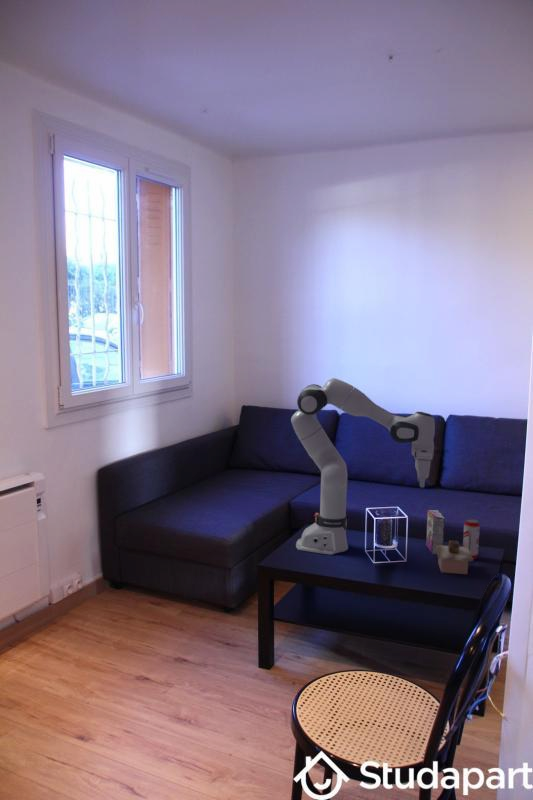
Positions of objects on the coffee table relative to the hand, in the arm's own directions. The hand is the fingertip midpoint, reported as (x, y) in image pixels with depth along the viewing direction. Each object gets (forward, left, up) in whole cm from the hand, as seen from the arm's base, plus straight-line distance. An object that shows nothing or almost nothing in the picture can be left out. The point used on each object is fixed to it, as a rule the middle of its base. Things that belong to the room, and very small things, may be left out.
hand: (420, 484), depth 261 cm
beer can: (+22, +3, -31) cm, 38 cm away
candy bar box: (+8, +9, -31) cm, 34 cm away
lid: (+13, -11, -25) cm, 30 cm away
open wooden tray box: (+13, -11, -31) cm, 35 cm away
